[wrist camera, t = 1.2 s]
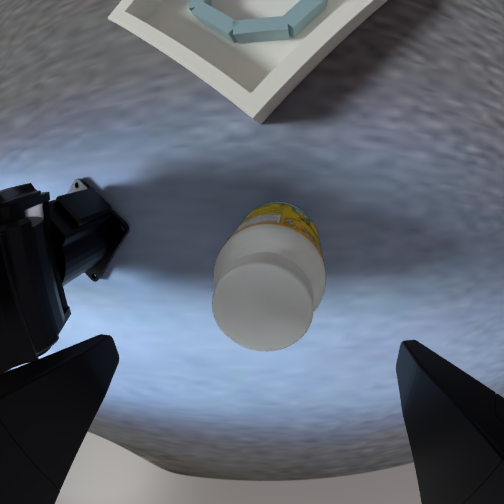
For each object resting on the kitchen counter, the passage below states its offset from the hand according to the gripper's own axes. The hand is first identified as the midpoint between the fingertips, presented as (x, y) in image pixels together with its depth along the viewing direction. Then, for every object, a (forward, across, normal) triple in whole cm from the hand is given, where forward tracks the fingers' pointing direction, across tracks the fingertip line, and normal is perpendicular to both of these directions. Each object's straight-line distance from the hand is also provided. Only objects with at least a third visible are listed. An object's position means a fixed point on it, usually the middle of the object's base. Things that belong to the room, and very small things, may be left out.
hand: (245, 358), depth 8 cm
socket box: (+13, 0, -17) cm, 22 cm away
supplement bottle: (+13, 0, 0) cm, 13 cm away
